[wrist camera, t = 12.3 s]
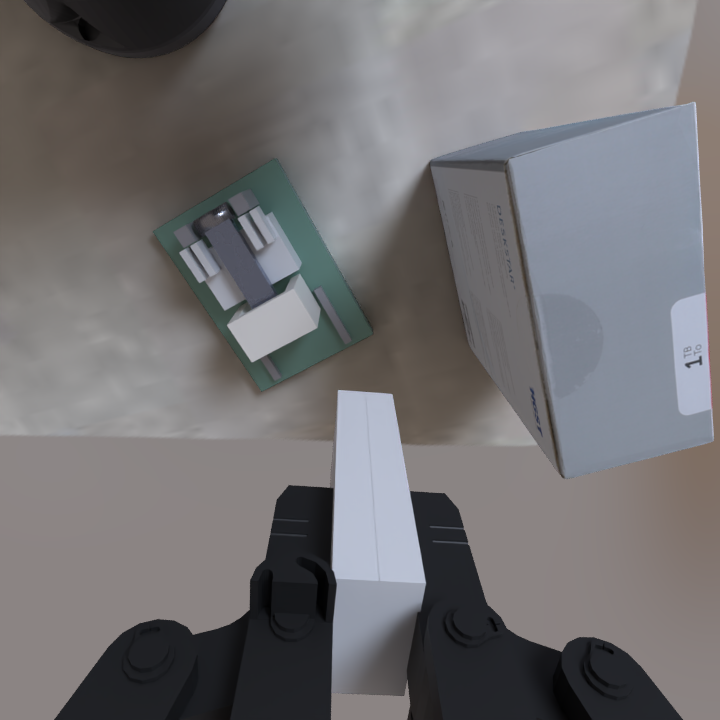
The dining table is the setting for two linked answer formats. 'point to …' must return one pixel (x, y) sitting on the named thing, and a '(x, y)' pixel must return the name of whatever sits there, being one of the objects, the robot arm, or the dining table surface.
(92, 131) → the dining table surface
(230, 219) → the grey rectangular bar
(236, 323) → the white open-sided box
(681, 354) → the hard drive box
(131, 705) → the robot arm
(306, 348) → the board
